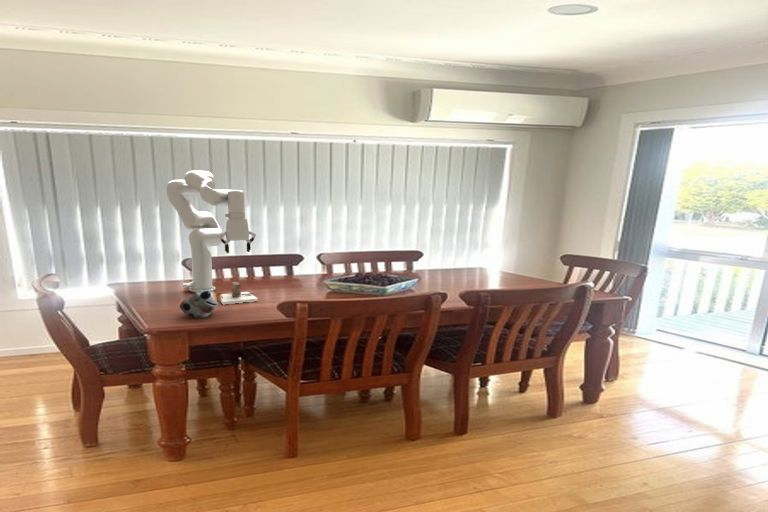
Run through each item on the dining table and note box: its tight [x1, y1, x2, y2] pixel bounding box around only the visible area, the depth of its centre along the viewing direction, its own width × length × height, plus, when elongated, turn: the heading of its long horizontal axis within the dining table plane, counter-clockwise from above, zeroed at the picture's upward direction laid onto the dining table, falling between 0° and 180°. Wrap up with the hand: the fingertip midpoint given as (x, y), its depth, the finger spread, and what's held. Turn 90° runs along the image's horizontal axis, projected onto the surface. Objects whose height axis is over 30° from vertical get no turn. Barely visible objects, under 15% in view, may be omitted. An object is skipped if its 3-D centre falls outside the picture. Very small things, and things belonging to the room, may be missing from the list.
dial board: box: [220, 291, 258, 306], centre depth 242 cm, size 16×16×2 cm
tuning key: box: [230, 281, 254, 297], centre depth 243 cm, size 10×7×6 cm
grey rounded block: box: [179, 289, 223, 319], centre depth 213 cm, size 15×12×14 cm
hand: (238, 252), depth 242 cm, fingers open, 9 cm apart
